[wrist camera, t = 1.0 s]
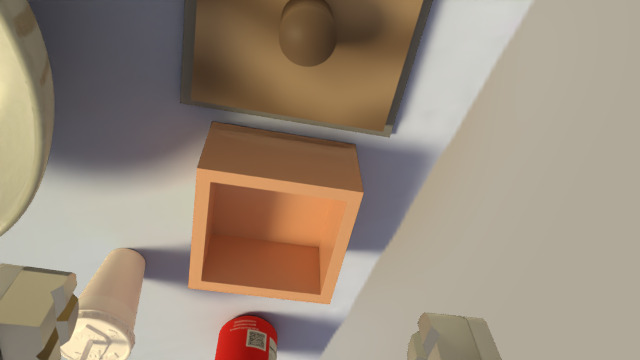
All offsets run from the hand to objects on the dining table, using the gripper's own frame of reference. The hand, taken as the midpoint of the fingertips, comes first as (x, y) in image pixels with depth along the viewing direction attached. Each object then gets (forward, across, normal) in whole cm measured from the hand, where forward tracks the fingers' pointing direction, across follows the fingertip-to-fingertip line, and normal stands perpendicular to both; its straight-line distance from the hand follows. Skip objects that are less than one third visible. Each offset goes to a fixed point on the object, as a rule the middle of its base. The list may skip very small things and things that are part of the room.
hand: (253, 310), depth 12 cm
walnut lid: (+28, -2, 0) cm, 28 cm away
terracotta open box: (+29, -2, +16) cm, 33 cm away
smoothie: (+29, +12, +27) cm, 41 cm away
